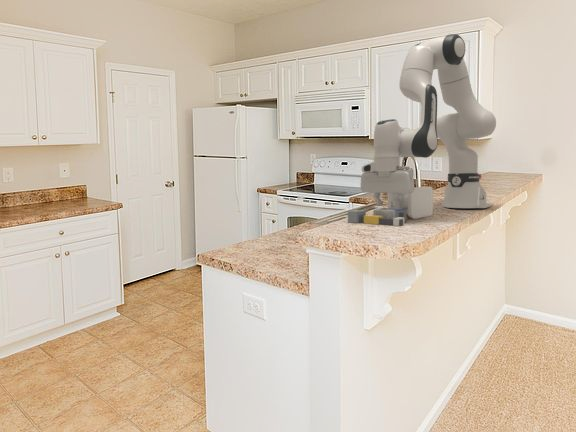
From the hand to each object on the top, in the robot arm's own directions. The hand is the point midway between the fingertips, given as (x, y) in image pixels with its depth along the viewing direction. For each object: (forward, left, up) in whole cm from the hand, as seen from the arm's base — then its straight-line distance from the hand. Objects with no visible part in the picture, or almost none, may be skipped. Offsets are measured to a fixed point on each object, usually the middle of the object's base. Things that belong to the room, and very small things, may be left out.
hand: (386, 206), depth 163 cm
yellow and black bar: (+8, +3, -5) cm, 10 cm away
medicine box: (0, +6, -3) cm, 7 cm away
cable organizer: (-15, 0, -6) cm, 16 cm away
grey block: (+8, -7, -5) cm, 12 cm away
